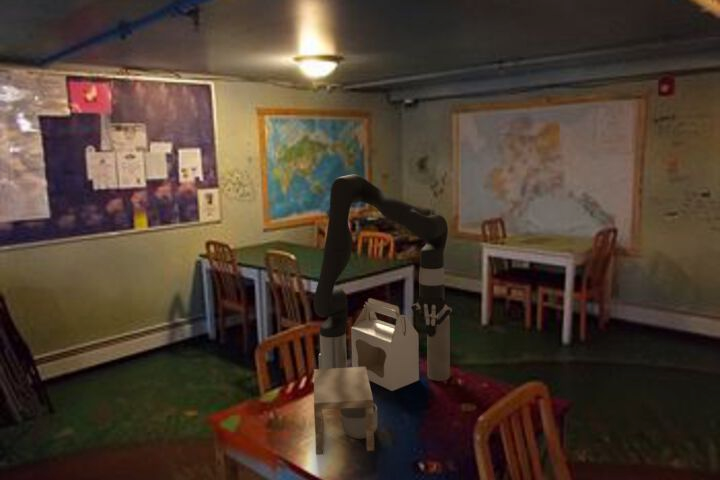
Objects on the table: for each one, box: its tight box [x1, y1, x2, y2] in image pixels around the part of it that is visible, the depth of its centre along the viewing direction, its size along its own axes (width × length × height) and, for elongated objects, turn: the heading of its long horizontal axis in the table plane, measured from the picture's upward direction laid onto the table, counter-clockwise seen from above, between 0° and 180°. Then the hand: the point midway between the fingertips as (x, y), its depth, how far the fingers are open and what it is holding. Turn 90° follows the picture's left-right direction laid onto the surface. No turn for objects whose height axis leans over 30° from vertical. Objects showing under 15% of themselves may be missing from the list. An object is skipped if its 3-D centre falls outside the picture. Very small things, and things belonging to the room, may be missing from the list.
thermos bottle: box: [426, 308, 451, 382], centre depth 198 cm, size 8×8×28 cm
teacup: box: [339, 402, 379, 440], centre depth 164 cm, size 14×11×8 cm
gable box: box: [350, 297, 420, 392], centre depth 200 cm, size 22×13×28 cm, turn 40°
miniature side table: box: [313, 366, 375, 455], centre depth 163 cm, size 16×23×15 cm
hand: (431, 336), depth 171 cm, fingers closed
